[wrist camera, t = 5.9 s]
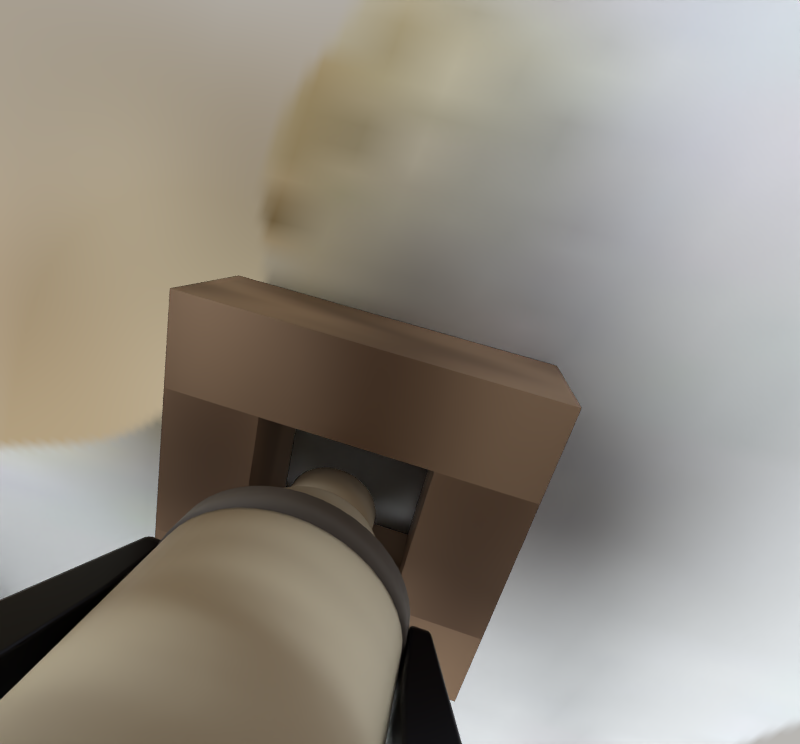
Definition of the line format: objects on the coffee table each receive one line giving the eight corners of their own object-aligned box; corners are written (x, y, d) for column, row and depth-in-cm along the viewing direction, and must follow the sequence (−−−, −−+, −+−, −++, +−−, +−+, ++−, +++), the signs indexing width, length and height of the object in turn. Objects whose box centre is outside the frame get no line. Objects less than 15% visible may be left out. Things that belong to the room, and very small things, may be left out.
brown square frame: (209, 529, 16) (151, 594, 13) (238, 275, 13) (169, 288, 10) (459, 613, 15) (454, 701, 12) (557, 366, 12) (581, 407, 9)
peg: (232, 551, 13) (-270, 1206, 4) (254, 394, 11) (-535, 969, 2) (400, 608, 12) (225, 1466, 4) (451, 454, 10) (338, 1403, 2)
